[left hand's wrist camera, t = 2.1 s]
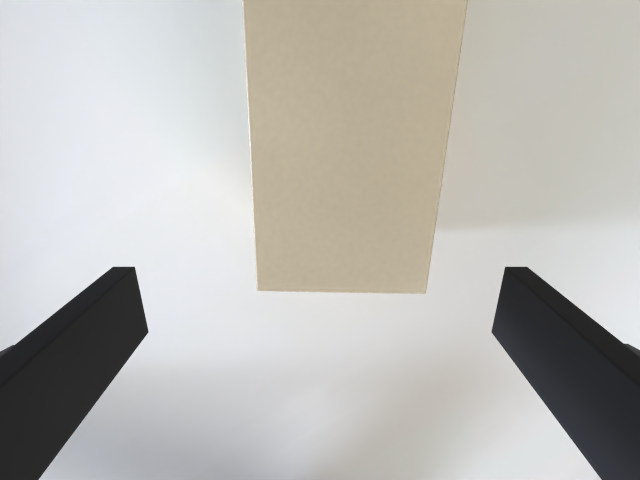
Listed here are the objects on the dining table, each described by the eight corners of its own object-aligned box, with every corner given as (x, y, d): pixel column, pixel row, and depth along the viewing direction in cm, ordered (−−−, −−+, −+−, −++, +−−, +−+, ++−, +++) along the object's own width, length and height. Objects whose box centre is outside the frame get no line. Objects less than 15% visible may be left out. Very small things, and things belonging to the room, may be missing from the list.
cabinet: (269, -51, 24) (233, -163, 14) (419, -48, 24) (490, -156, 14) (277, 231, 31) (256, 291, 21) (391, 233, 31) (425, 294, 21)
